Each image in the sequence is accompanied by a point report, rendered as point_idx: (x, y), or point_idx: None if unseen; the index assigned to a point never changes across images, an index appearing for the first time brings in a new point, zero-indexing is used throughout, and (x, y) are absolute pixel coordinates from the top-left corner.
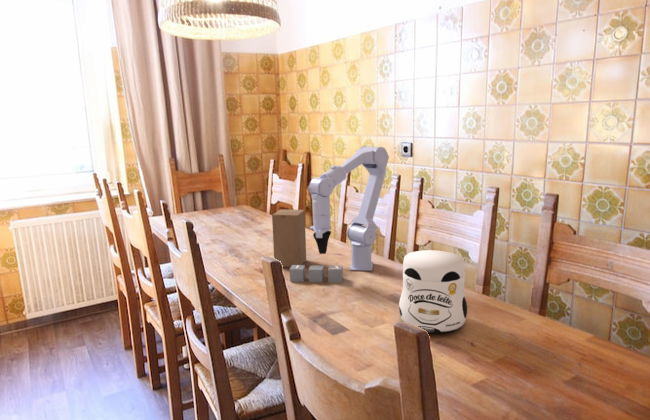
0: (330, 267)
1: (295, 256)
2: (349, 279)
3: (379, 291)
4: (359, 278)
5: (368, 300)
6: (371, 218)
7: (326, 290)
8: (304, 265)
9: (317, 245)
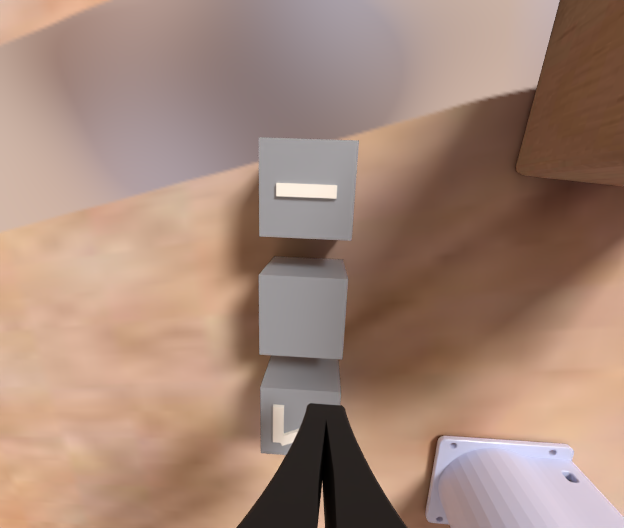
0: (306, 398)
1: (585, 128)
2: None
3: (194, 521)
4: None
5: (105, 486)
6: None
7: (175, 345)
8: (344, 237)
9: (283, 463)
